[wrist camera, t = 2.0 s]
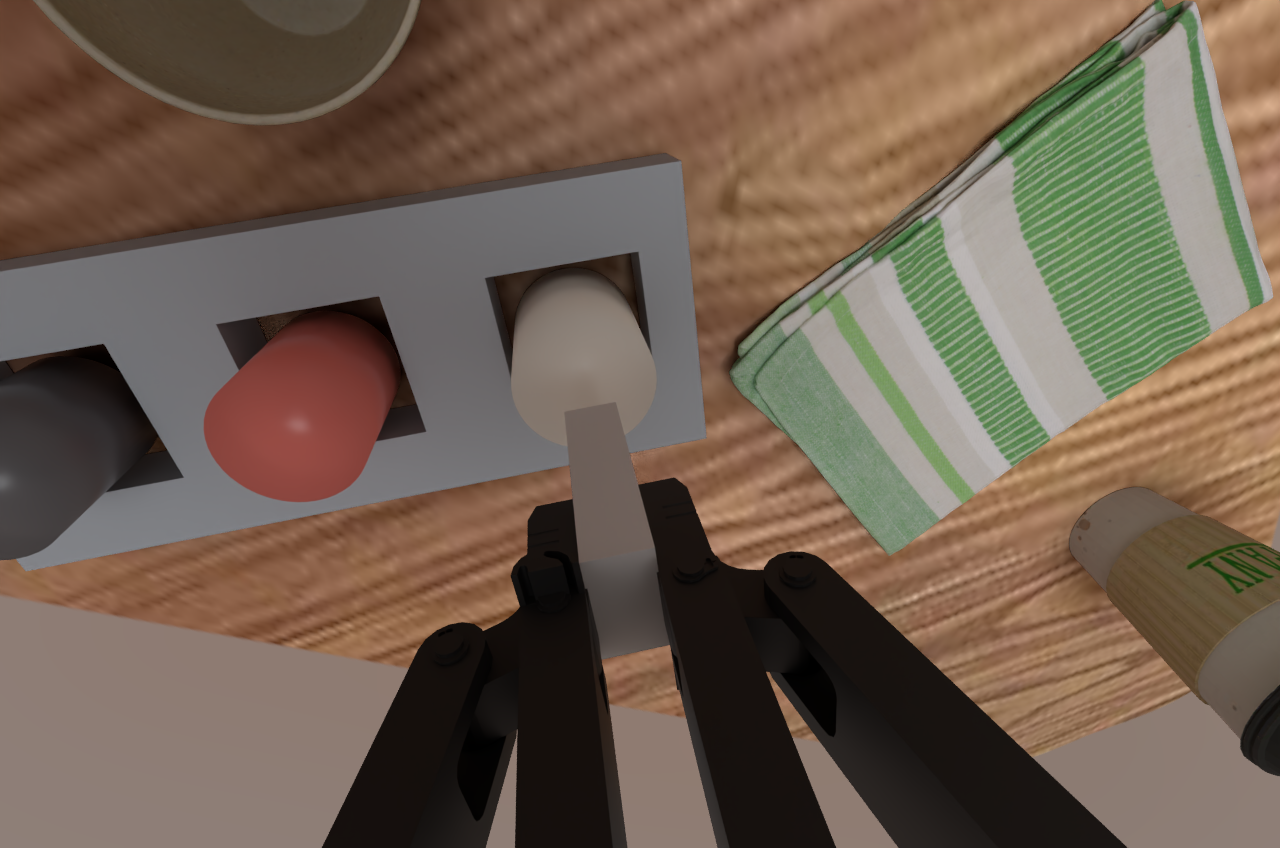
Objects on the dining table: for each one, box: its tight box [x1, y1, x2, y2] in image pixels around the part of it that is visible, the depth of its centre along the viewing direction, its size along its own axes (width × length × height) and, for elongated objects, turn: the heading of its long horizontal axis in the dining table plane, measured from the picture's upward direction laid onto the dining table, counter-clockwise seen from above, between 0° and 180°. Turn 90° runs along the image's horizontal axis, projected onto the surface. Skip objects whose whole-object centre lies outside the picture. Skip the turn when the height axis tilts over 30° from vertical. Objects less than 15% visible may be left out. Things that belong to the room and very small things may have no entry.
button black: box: [0, 356, 157, 560], centre depth 23 cm, size 5×5×6 cm
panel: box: [0, 153, 706, 571], centre depth 26 cm, size 12×30×3 cm, turn 98°
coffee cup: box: [1069, 487, 1280, 776], centre depth 34 cm, size 10×10×15 cm
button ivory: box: [511, 268, 657, 446], centre depth 24 cm, size 5×5×6 cm
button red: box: [204, 311, 401, 502], centre depth 23 cm, size 5×5×6 cm
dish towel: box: [729, 0, 1273, 556], centre depth 31 cm, size 18×23×3 cm
